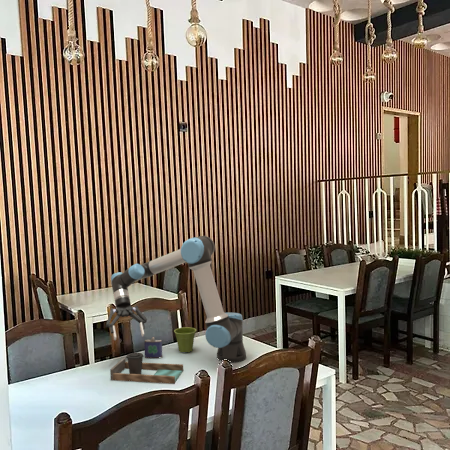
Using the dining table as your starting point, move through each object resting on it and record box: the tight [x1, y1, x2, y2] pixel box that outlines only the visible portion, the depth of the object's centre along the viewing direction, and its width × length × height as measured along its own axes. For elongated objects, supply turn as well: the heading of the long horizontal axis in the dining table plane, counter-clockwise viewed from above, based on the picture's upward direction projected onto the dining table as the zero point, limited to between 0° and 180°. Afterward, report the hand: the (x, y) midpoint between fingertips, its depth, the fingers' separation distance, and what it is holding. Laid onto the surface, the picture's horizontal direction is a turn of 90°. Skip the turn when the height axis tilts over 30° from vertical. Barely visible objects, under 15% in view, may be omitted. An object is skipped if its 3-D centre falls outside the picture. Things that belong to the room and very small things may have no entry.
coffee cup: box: [125, 352, 145, 374], centre depth 233 cm, size 8×8×10 cm
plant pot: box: [173, 326, 197, 353], centre depth 266 cm, size 12×12×11 cm
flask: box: [143, 336, 163, 359], centre depth 256 cm, size 9×3×11 cm, turn 88°
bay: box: [109, 357, 184, 385], centre depth 232 cm, size 30×16×5 cm, turn 80°
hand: (129, 337), depth 242 cm, fingers open, 13 cm apart
